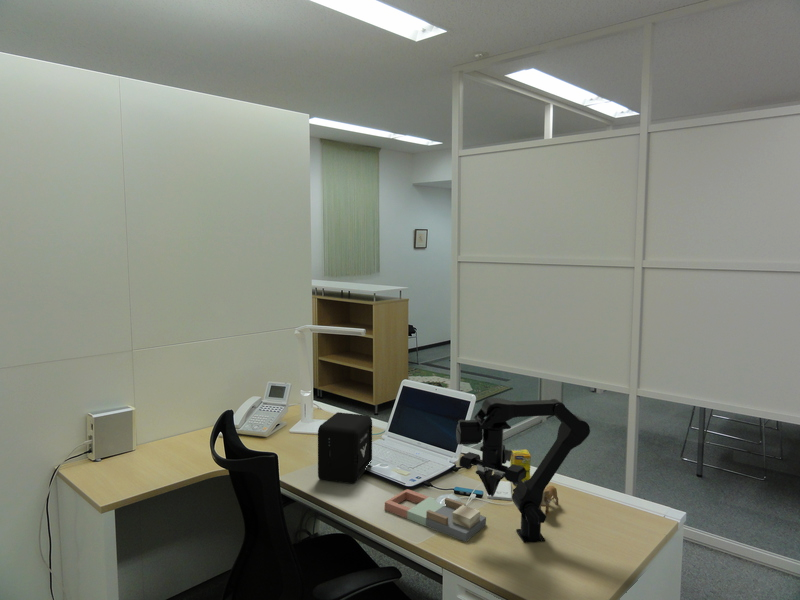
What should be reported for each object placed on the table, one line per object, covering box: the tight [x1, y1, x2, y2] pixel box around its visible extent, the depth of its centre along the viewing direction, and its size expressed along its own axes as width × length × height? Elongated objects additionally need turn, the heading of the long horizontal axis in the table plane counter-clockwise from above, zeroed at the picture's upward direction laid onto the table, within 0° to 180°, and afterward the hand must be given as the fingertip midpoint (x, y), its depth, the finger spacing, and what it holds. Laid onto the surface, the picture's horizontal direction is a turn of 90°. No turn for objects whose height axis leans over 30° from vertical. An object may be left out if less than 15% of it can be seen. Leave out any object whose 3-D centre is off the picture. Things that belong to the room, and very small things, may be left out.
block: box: [452, 505, 481, 529], centre depth 158 cm, size 6×6×3 cm
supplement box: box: [509, 449, 532, 485], centre depth 191 cm, size 6×6×11 cm
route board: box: [384, 488, 487, 543], centre depth 165 cm, size 30×12×4 cm, turn 53°
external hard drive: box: [486, 480, 513, 502], centre depth 184 cm, size 2×8×12 cm
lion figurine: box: [540, 485, 559, 516], centre depth 171 cm, size 15×5×9 cm, turn 152°
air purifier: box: [317, 411, 373, 484], centre depth 196 cm, size 20×15×20 cm
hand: (491, 495), depth 152 cm, fingers closed
